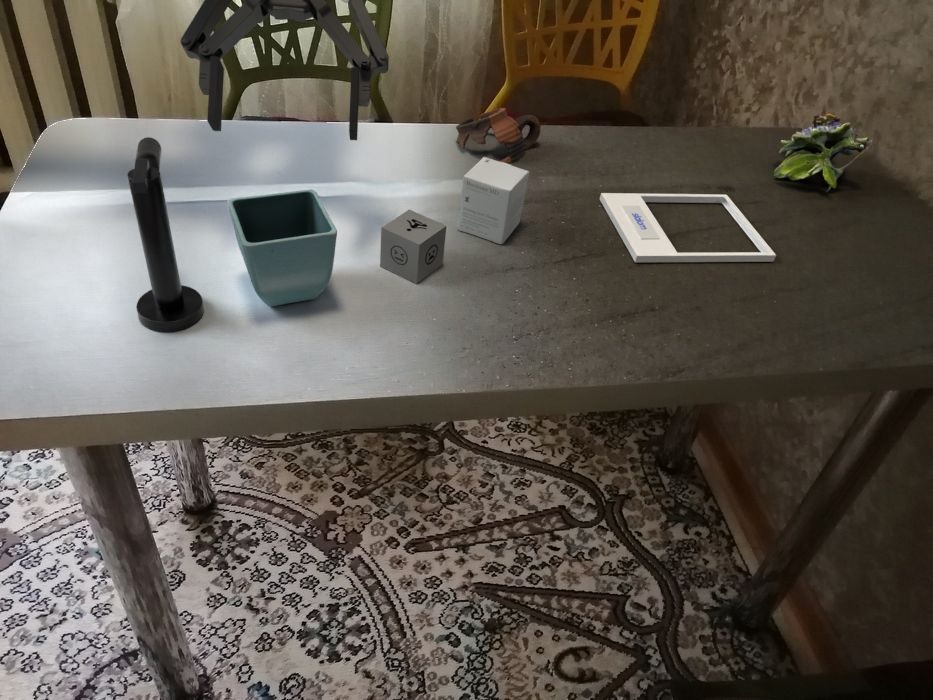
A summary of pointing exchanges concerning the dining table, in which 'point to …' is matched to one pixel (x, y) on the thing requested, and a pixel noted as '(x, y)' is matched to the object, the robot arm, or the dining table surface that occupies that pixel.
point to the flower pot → (285, 244)
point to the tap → (159, 249)
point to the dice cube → (412, 245)
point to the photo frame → (652, 241)
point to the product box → (492, 200)
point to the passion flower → (820, 150)
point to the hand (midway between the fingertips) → (284, 131)
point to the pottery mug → (501, 132)
